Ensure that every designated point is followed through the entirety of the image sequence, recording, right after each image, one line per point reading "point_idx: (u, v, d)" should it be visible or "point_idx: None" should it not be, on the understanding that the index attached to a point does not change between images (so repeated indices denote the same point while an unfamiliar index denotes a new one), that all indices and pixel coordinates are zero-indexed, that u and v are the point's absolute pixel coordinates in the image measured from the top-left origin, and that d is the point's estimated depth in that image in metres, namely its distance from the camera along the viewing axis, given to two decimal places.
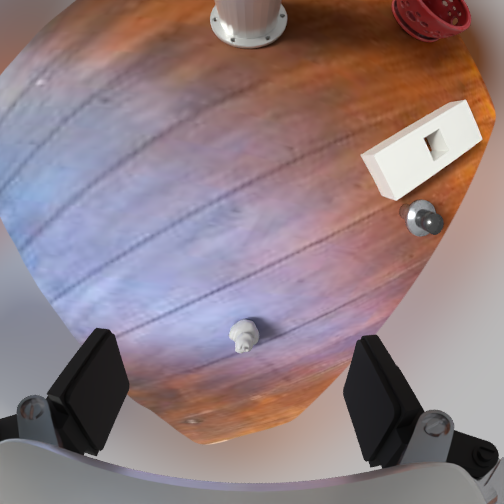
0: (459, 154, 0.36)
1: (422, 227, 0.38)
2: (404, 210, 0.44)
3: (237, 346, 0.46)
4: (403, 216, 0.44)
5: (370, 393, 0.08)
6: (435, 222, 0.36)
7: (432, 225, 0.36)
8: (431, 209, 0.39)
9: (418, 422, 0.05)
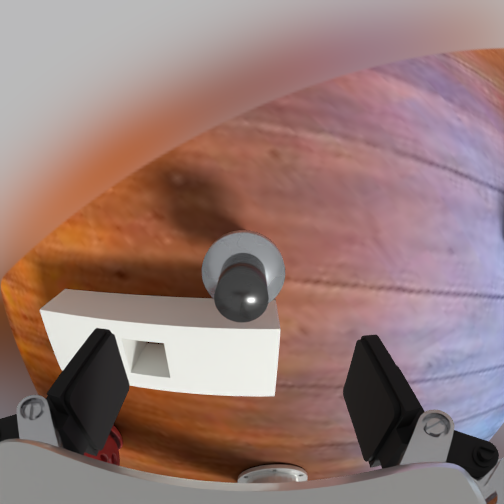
0: (98, 321, 0.22)
1: None
2: None
3: None
4: None
5: (370, 393, 0.08)
6: (240, 304, 0.17)
7: (252, 302, 0.17)
8: (211, 278, 0.21)
9: (418, 422, 0.05)
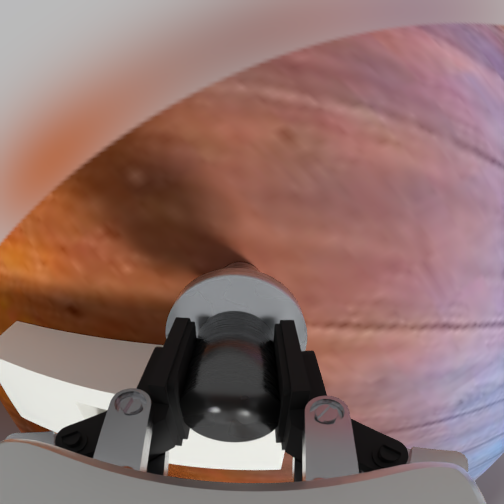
0: (43, 377, 0.14)
1: None
2: None
3: None
4: None
5: (277, 374, 0.09)
6: (228, 422, 0.08)
7: (251, 421, 0.08)
8: None
9: (307, 405, 0.07)
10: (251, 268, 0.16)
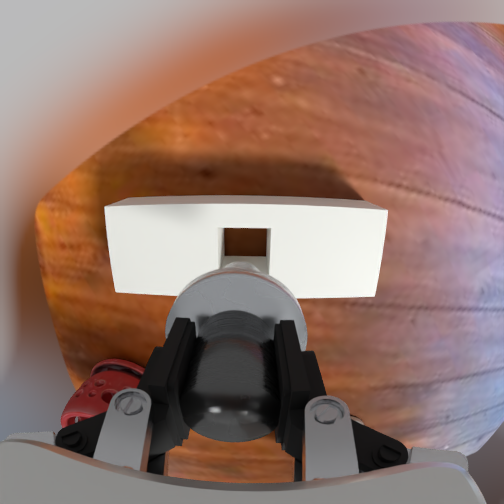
0: (190, 207, 0.22)
1: None
2: None
3: None
4: None
5: (277, 374, 0.09)
6: (228, 421, 0.08)
7: (251, 420, 0.08)
8: None
9: (307, 405, 0.07)
10: (251, 268, 0.16)
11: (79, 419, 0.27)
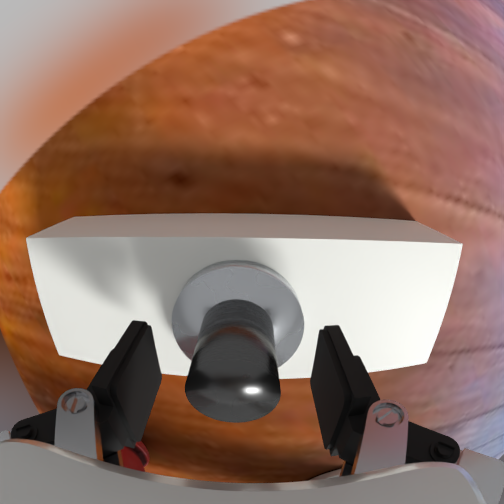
0: (143, 243, 0.12)
1: (275, 355, 0.10)
2: None
3: None
4: None
5: (328, 381, 0.08)
6: (231, 400, 0.09)
7: (252, 399, 0.09)
8: (187, 335, 0.12)
9: (369, 410, 0.06)
10: None
11: None
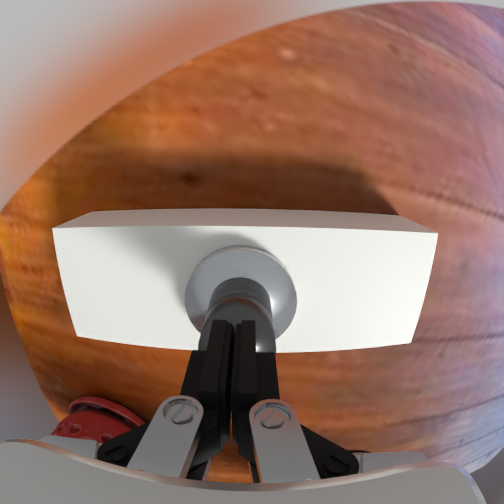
0: (161, 231, 0.15)
1: None
2: None
3: None
4: None
5: None
6: None
7: None
8: (197, 310, 0.15)
9: (252, 407, 0.07)
10: None
11: None
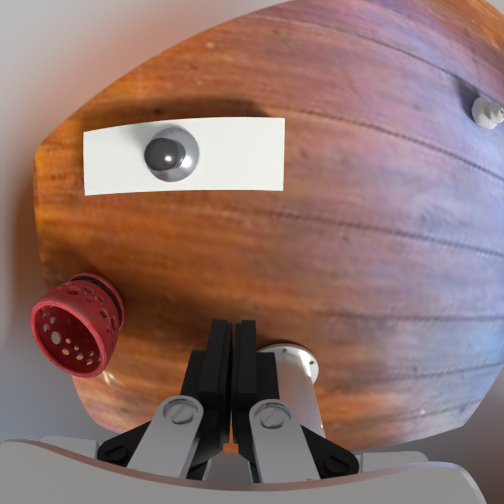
0: (138, 125, 0.28)
1: (180, 151, 0.26)
2: None
3: None
4: None
5: None
6: (159, 157, 0.24)
7: (166, 156, 0.24)
8: None
9: (252, 407, 0.07)
10: None
11: (48, 328, 0.34)
